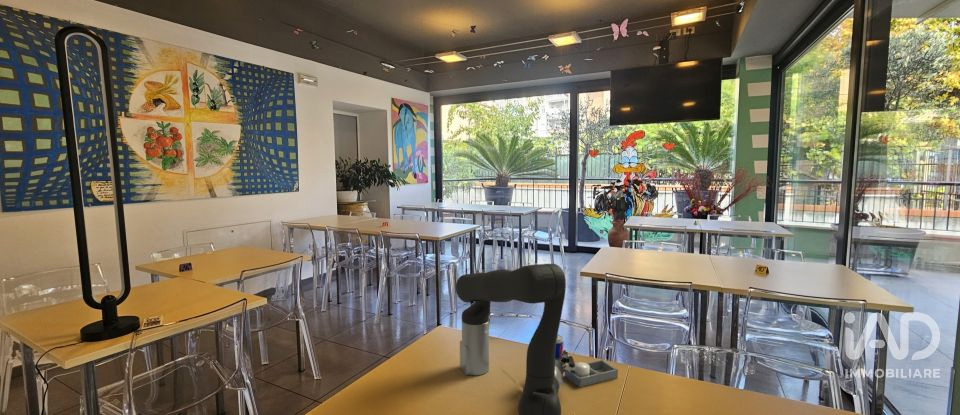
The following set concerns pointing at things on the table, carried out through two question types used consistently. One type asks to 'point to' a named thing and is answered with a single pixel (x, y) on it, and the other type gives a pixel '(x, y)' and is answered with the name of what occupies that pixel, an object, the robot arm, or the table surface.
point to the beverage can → (559, 347)
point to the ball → (582, 369)
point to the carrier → (594, 374)
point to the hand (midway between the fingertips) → (555, 351)
